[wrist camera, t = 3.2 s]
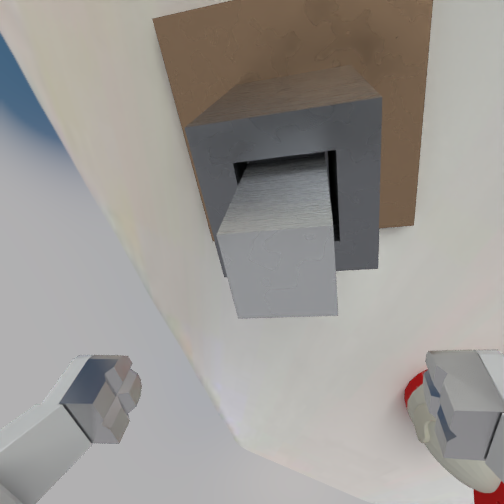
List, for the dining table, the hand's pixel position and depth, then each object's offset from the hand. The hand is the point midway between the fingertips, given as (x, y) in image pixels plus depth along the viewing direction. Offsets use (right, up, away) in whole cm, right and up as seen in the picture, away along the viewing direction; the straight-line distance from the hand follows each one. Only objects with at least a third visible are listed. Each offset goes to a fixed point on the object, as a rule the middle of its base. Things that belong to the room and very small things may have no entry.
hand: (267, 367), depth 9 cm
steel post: (+3, +13, +20) cm, 24 cm away
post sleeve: (+4, +14, +21) cm, 26 cm away
